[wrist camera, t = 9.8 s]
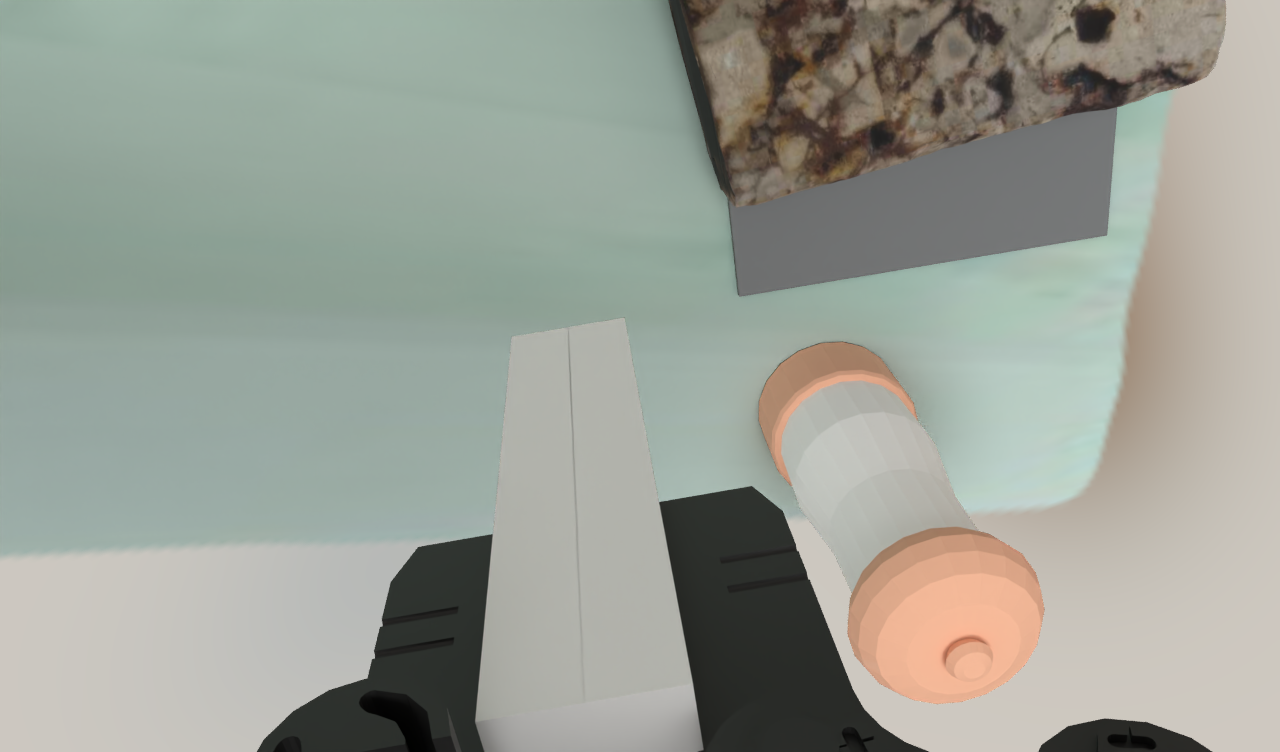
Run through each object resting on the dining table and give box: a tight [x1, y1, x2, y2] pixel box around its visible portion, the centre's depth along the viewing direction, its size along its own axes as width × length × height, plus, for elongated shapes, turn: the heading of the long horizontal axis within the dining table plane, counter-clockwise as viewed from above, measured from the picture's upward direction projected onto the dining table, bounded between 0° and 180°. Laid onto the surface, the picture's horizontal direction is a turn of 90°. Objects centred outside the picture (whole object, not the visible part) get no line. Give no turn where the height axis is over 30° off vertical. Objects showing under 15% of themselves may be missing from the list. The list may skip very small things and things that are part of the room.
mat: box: [728, 107, 1117, 297], centre depth 40 cm, size 18×22×1 cm
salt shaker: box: [759, 342, 1044, 704], centre depth 40 cm, size 7×7×19 cm
